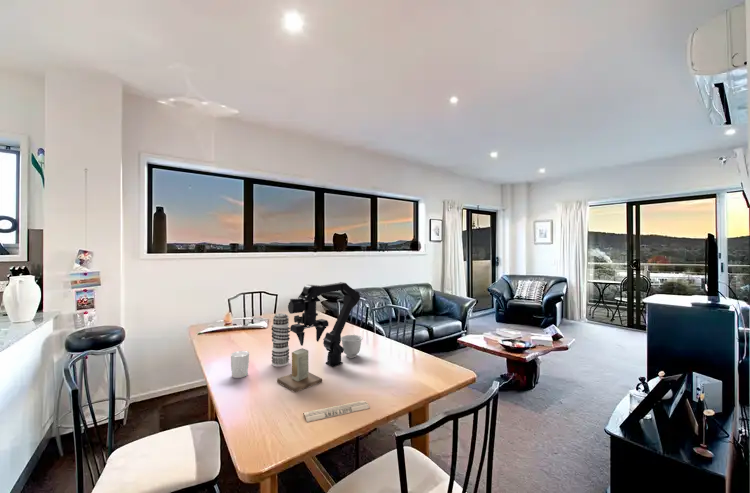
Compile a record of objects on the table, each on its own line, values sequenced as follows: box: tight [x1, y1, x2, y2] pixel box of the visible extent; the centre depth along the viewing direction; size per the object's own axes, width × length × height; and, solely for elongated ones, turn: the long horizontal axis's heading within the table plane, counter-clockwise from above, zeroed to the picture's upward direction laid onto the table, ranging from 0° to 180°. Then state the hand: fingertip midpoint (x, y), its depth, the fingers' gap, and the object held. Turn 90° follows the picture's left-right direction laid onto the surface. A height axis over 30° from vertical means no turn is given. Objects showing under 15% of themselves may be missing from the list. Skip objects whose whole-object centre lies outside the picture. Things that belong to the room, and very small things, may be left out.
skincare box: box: [291, 347, 310, 382], centre depth 142 cm, size 6×4×12 cm
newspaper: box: [302, 400, 371, 423], centre depth 117 cm, size 24×7×2 cm, turn 115°
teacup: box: [341, 334, 363, 359], centre depth 178 cm, size 12×15×10 cm
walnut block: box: [276, 372, 323, 393], centre depth 143 cm, size 14×14×2 cm
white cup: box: [230, 350, 250, 379], centre depth 149 cm, size 8×8×10 cm
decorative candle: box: [270, 313, 291, 367], centre depth 165 cm, size 9×9×25 cm
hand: (309, 343), depth 156 cm, fingers open, 9 cm apart
